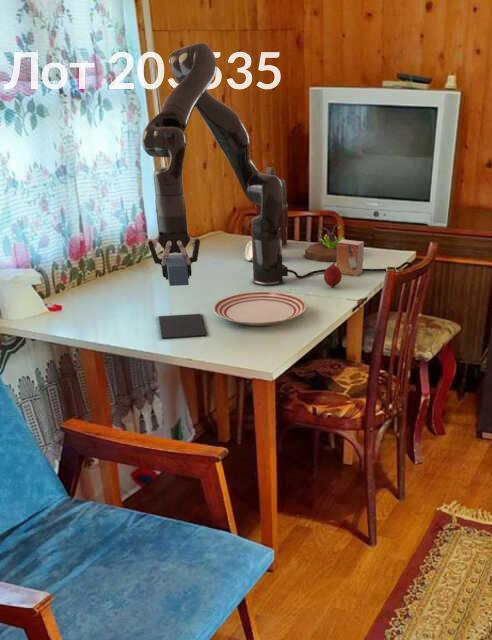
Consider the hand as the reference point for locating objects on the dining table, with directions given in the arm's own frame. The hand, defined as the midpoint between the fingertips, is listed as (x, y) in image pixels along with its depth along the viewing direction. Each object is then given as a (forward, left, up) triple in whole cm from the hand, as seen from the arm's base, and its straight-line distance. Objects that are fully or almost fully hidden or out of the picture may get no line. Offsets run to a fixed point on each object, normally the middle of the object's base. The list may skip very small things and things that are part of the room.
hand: (177, 278), depth 201 cm
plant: (-61, -70, -14) cm, 94 cm away
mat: (0, -1, -14) cm, 14 cm away
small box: (-61, -46, -14) cm, 78 cm away
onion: (-51, -30, -14) cm, 61 cm away
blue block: (0, +7, +3) cm, 8 cm away
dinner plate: (-23, -6, -14) cm, 28 cm away
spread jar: (-34, -68, -14) cm, 77 cm away
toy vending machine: (-42, -88, -14) cm, 99 cm away
